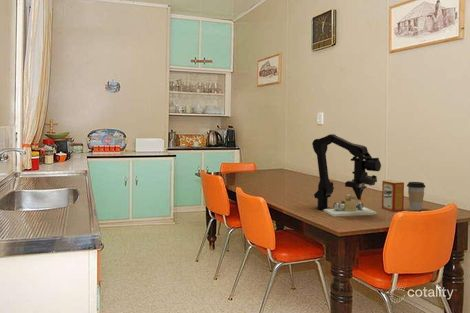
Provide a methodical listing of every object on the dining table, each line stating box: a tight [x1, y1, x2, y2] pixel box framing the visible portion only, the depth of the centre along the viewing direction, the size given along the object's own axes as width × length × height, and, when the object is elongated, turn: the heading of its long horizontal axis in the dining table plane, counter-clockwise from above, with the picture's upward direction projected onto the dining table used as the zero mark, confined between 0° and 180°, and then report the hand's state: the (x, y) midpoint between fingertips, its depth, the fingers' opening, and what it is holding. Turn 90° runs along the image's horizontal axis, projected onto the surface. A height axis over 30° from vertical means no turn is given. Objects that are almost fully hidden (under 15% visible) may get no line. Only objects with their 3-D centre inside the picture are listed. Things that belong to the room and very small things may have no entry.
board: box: [323, 206, 377, 218], centre depth 218 cm, size 13×24×1 cm, turn 99°
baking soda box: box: [381, 179, 405, 212], centre depth 225 cm, size 10×6×16 cm
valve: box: [332, 198, 365, 211], centre depth 219 cm, size 16×5×6 cm, turn 99°
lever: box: [344, 193, 367, 202], centre depth 216 cm, size 12×3×2 cm, turn 38°
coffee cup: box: [406, 181, 426, 212], centre depth 224 cm, size 9×9×15 cm
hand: (358, 199), depth 212 cm, fingers closed
